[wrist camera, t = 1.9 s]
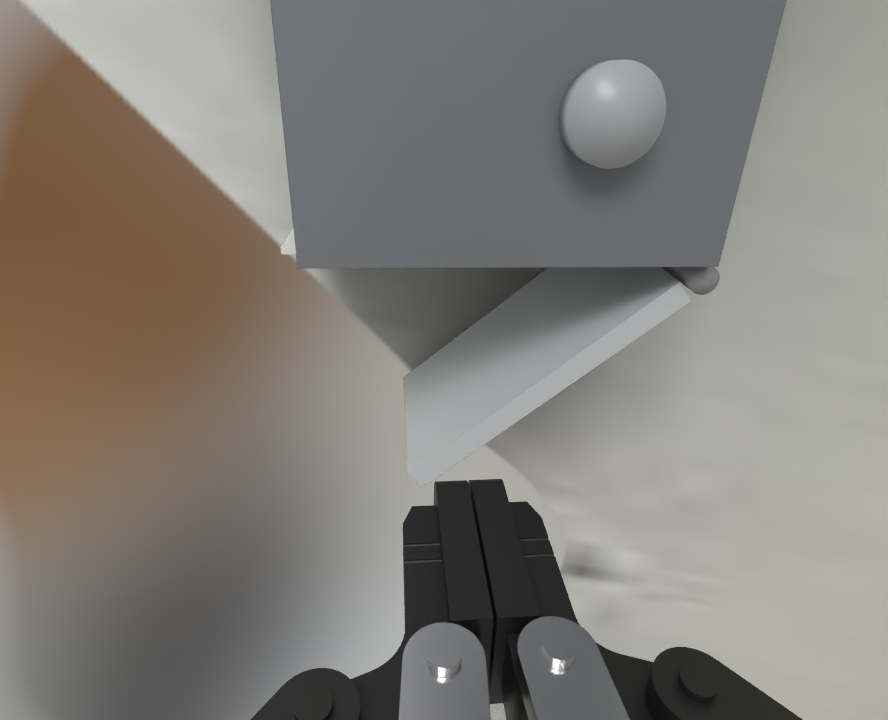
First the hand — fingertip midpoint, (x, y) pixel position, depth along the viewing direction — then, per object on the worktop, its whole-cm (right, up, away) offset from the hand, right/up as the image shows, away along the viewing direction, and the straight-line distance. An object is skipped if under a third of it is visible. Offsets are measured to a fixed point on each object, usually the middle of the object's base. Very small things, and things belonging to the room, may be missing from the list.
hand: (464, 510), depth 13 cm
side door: (+3, +6, +12) cm, 14 cm away
